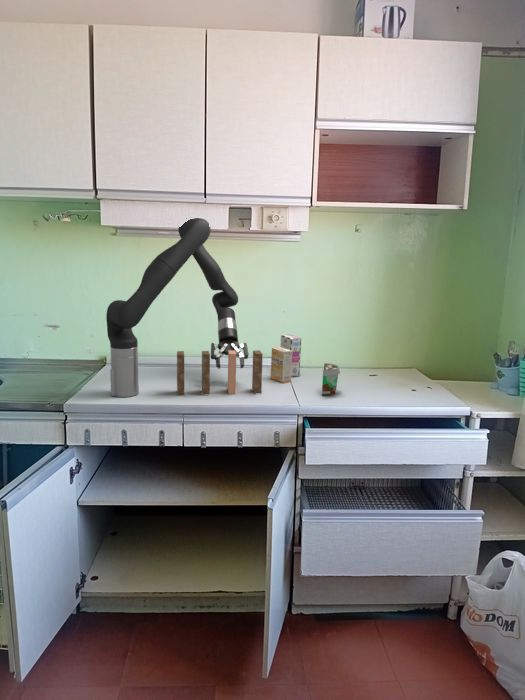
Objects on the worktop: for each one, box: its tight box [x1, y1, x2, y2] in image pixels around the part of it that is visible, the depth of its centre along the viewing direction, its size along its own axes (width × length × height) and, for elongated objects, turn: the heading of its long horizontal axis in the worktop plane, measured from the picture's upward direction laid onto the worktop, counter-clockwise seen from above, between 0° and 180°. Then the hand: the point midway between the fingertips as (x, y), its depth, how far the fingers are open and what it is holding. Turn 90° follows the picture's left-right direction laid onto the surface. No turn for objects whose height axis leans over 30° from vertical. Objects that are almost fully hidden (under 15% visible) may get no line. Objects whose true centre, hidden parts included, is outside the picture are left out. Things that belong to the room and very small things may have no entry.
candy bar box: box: [280, 334, 302, 378], centre depth 210 cm, size 11×5×16 cm, turn 21°
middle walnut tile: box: [201, 350, 211, 395], centre depth 179 cm, size 2×6×15 cm, turn 10°
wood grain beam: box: [251, 349, 264, 394], centre depth 182 cm, size 2×6×15 cm, turn 10°
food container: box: [321, 362, 341, 397], centre depth 184 cm, size 12×6×10 cm, turn 171°
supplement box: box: [270, 346, 293, 384], centre depth 199 cm, size 8×5×13 cm, turn 36°
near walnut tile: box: [176, 350, 185, 396], centre depth 177 cm, size 2×6×15 cm, turn 10°
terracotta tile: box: [227, 351, 237, 395], centre depth 181 cm, size 2×6×15 cm, turn 7°
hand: (230, 367), depth 185 cm, fingers open, 8 cm apart
